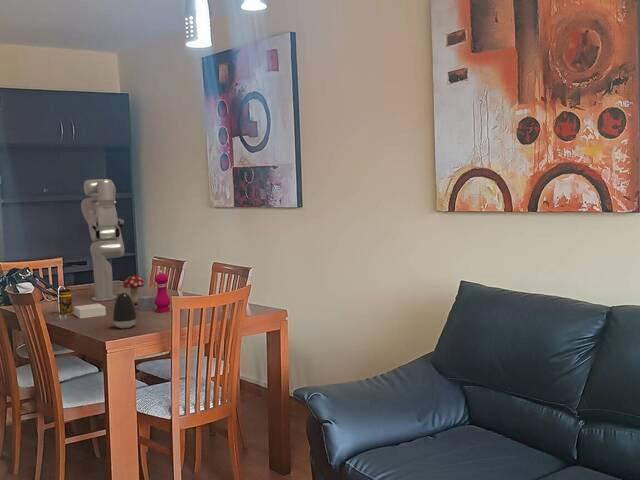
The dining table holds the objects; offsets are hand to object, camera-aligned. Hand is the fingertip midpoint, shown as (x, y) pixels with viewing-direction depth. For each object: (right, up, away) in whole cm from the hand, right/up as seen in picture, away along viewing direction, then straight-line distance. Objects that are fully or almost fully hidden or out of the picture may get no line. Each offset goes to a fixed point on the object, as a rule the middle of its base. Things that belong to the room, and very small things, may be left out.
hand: (107, 237), depth 364 cm
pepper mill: (+31, -36, -15) cm, 50 cm away
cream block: (-3, -37, -18) cm, 41 cm away
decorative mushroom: (+12, -35, +6) cm, 37 cm away
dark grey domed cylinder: (+22, -39, -50) cm, 67 cm away
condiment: (-17, -37, -13) cm, 43 cm away
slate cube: (+21, -35, -7) cm, 42 cm away
